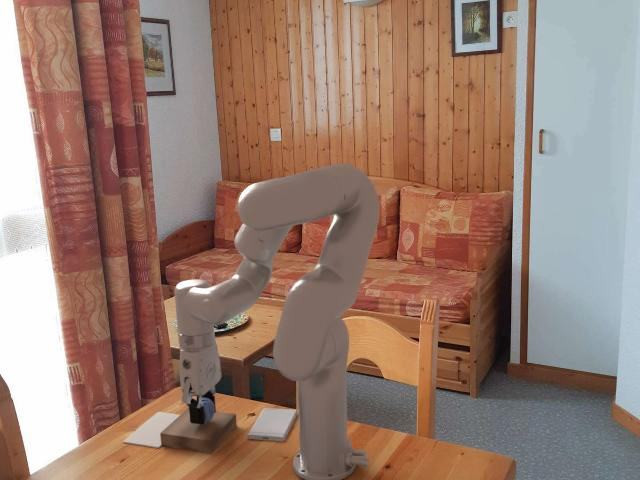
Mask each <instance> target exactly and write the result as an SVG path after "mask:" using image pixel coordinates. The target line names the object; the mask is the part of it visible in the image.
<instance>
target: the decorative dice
mask: <svg viewBox="0 0 640 480" xmlns="http://www.w3.org/2000/svg"><path fill="white" fill-rule="evenodd" d="M195 400H196V401H197V398H196V399H195ZM201 406H203V407H204V420H205V422H208V421H210V420H211V419H212V418H213V415H214V410H215V407H216V406H215V407H214V403H213V402H212V400H210V399H209V398H202V405H201Z"/></svg>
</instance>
